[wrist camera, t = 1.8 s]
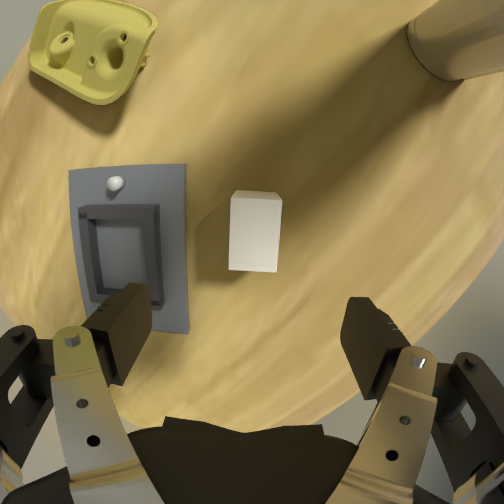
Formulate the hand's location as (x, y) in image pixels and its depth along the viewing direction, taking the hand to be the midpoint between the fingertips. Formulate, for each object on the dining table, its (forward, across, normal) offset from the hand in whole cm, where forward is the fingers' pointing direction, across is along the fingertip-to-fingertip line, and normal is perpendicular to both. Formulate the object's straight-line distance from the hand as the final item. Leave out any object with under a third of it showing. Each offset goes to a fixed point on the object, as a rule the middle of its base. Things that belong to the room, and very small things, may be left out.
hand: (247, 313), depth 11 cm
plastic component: (+19, +19, -20) cm, 33 cm away
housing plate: (+18, +14, +4) cm, 23 cm away
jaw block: (+18, 0, 0) cm, 18 cm away
